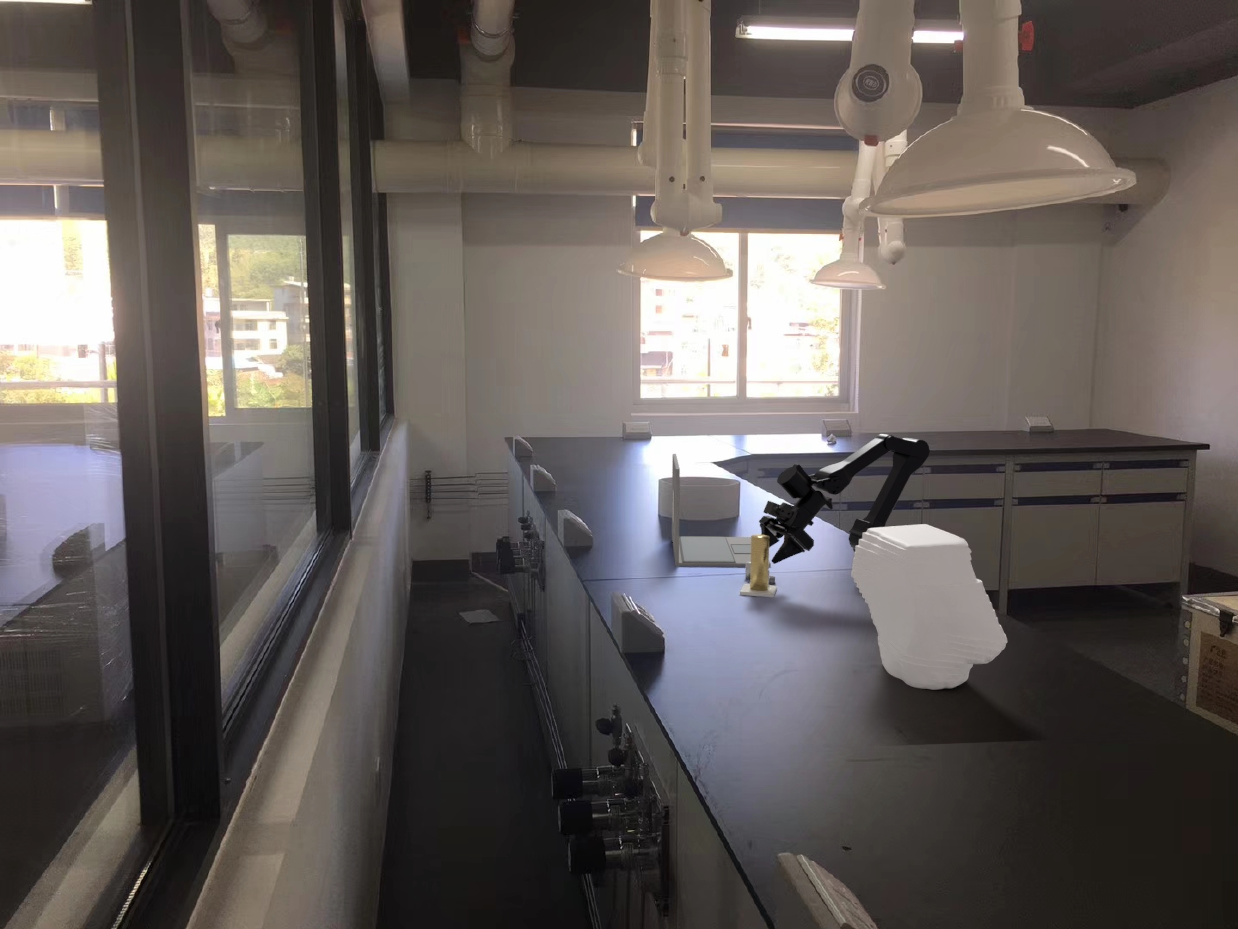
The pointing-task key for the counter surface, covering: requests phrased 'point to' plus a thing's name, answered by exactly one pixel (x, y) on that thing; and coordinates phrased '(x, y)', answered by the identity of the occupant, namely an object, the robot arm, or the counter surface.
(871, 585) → the paper stack
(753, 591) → the tile
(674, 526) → the laptop
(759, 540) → the brass tube
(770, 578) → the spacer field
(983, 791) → the counter surface
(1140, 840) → the counter surface
